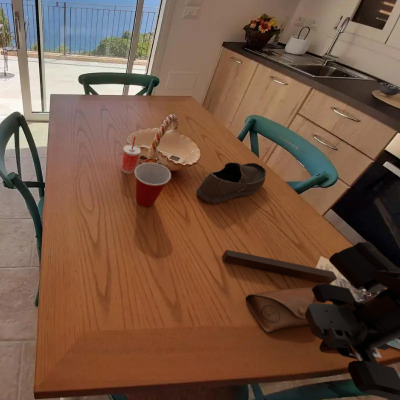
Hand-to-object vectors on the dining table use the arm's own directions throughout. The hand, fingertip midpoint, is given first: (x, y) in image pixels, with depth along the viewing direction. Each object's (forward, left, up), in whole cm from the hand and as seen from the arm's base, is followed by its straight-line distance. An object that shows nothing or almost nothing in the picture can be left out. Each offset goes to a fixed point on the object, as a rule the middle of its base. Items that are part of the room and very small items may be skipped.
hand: (322, 350), depth 54 cm
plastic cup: (+38, +37, -3) cm, 53 cm away
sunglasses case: (+9, +2, -3) cm, 10 cm away
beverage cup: (+54, +44, -3) cm, 70 cm away
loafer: (+53, +7, -3) cm, 54 cm away
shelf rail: (+21, +2, -3) cm, 21 cm away
